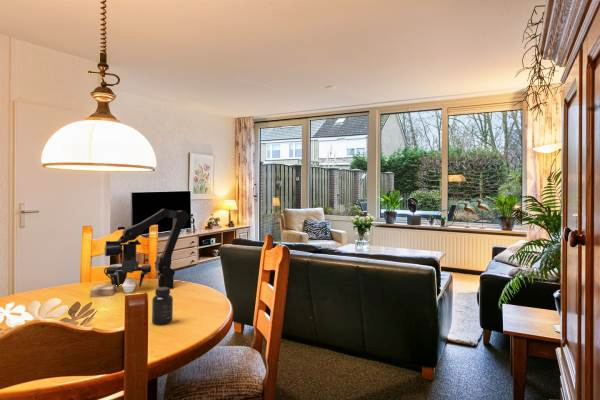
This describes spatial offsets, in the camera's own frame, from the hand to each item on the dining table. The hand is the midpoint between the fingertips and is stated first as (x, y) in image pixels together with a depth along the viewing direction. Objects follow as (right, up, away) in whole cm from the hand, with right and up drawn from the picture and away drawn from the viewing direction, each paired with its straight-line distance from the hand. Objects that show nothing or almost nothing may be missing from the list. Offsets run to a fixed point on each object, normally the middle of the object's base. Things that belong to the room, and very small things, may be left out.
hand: (129, 287), depth 169 cm
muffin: (0, -2, 0) cm, 2 cm away
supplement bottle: (+32, -2, -42) cm, 53 cm away
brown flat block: (-10, -2, -4) cm, 11 cm away
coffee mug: (-14, -2, +16) cm, 21 cm away
